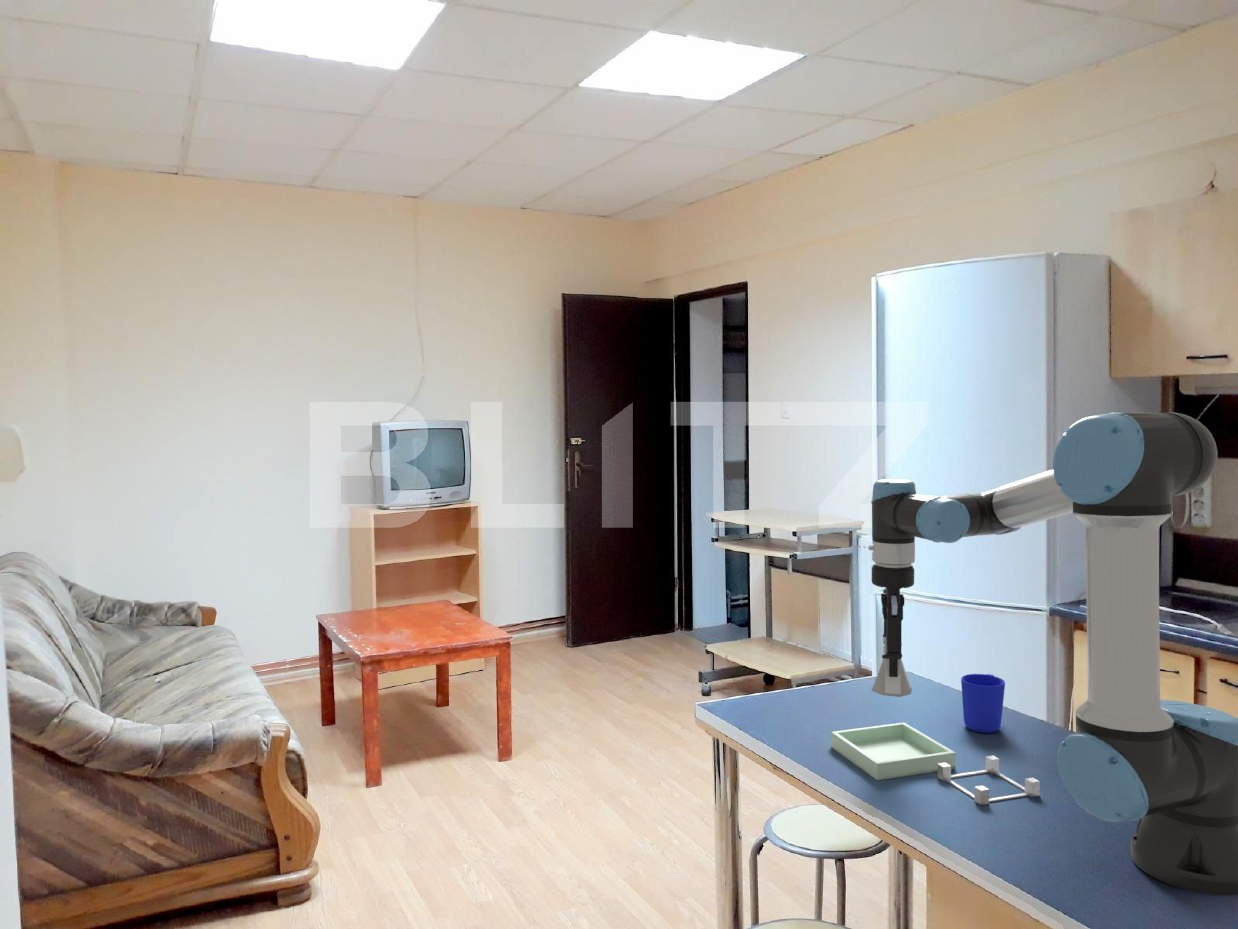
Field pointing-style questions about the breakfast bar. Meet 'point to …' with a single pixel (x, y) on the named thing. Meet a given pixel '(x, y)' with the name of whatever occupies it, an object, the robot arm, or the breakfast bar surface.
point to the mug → (982, 702)
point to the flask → (880, 680)
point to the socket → (981, 791)
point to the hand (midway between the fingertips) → (891, 686)
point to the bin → (891, 750)
